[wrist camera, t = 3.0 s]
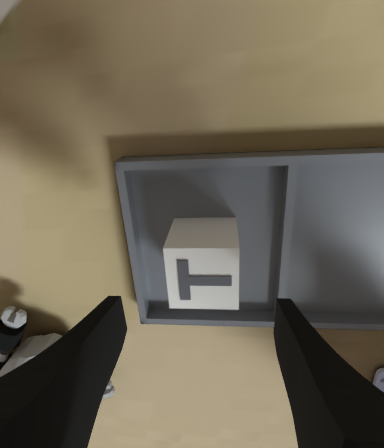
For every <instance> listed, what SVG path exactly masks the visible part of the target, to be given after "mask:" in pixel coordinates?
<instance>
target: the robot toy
mask: <svg viewBox="0 0 384 448" xmlns="http://www.w3.org/2000/svg"><path fill="white" fill-rule="evenodd" d="M15 308H16V307H14V306H9V307H6V308H5V309H4V311H3V312H2V315H1V319H2V320H0V377H1V376H3V375H5V374H6V373H8V372H10V371H12V370H13V369H15V368H17V367H18V366H20V365H22V364H23V363H25V362H27V361H28V360H30V359H31V358H33V357H35V356H36V355H38V354H39V353H41V352H42V351H43V350H45V349H46V348H48V347H49V346H50V345H52V344H53V343H55V342H56V341H57V340H58V339H60V338H61V337H62V335H59V334H56V333H52V334H48V335H44V336H43V335H40V336H32V337H29V338H27V339H26V340H25V341H24V342H23V343H22V344H21V345H20V346H19V344H20V342H21V339H22V337H23V334H24V330H25V327H26V324H27V322H26V318H27V315H26V311H24V310H22V309H19V311H17V312H16V313H14V312H15ZM17 346H19V347H18V348H17V350H16V351H15V352H14V353H13V355H11V354H10V352H11V351H12V350H14V349H15V348H16V347H17ZM114 391H115V388H114V386H112V382H111V381H110V380H109V383H108V385H107V387H106V390H105V392H104V395H103V397H102V398H103V399H106V398H108V397H111V396H112V395H113V393H114Z"/></svg>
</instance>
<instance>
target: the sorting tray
mask: <svg viewBox="0 0 384 448" xmlns="http://www.w3.org/2000/svg"><path fill="white" fill-rule="evenodd" d="M114 166H115V172H116V178H117V184H118V190H119V196H120V202H121V208H122V214H123V220H124V226H125V232H126V238H127V244H128V250H129V256H130V262H131V268H132V274H133V280H134V286H135V292H136V299H137V305H138V311H139V317H140V323H141V324H166V325H204V326H242V327H274V322H275V309H276V298H290V299H291V300H292V301H293V302H294V303H295V305H296V306H297V307H298V309H299V310H300V311H301V313H302V314H303V315H304V317H305V318H306V319H307V320H308V322H309V323H310V324H311V325H312V326H313V327H314V328H318V329H356V330H384V147H372V148H346V149H319V150H293V151H266V152H239V153H213V154H186V155H160V156H133V157H121V158H120V159H118V160H117V161H115V162H114ZM225 217H236V219H237V229H238V238H239V248H240V252H239V310H229V309H179V308H169V299H168V290H167V281H166V272H165V263H164V254H163V247H164V244H165V241H166V239H167V236H168V233H169V231H170V228H171V225H172V223H173V220H174V218H225Z"/></svg>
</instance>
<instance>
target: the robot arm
mask: <svg viewBox="0 0 384 448" xmlns="http://www.w3.org/2000/svg"><path fill="white" fill-rule="evenodd" d="M126 332H127V325H126V320H125V315H124V310H123V305H122V300H121V296H108V297H107V298H106V299H104V300H103V301H102V302H101V303H100V304H99V305H98V306H97V307H96V308H95V309H94V310H92V311H91V312H90V313H89V314H88V315H87V316H86V317H85V318H84V319H82V320H81V321H80V322H79V323H78V324H77V325H76V326H74V327H73V328H72V329H71V330H69V331H68V332H67V333H66V334H65V335H63V336H62V337H61V338H60V339H58V340H57V341H56V342H55V343H53V344H52V345H50V346H49V347H48V348H46V349H45V350H43V351H42V352H41V353H39V354H38V355H36V356H35V357H33V358H31V359H30V360H28V361H27V362H25V363H23V364H22V365H20V366H18V367H17V368H15V369H13V370H12V371H10V372H8V373H6V374H5V375H3V376H1V377H0V448H87V447H88V443H89V439H90V436H91V432H92V429H93V425H94V422H95V419H96V416H97V412H98V409H99V406H100V403H101V400H102V397H103V395H104V392H105V390H106V387H107V385H108V383H109V380H110V378H111V375H112V373H113V370H114V368H115V365H116V363H117V360H118V358H119V355H120V353H121V350H122V347H123V343H124V340H125V336H126ZM274 339H275V346H276V352H277V357H278V361H279V365H280V368H281V372H282V376H283V380H284V383H285V387H286V391H287V394H288V398H289V402H290V405H291V410H292V414H293V419H294V425H295V430H296V436H297V442H298V448H384V368H379V369H378V370H377V371H376V374H375V377H374V381H373V384H372V383H371V382H370V381H368V380H367V379H366V378H364V377H363V376H362V375H361V374H360V373H358V372H357V371H356V370H355V369H354V368H352V367H351V366H350V365H349V364H348V363H347V362H346V361H345V360H344V359H343V358H342V357H341V356H340V355H339V354H337V353H336V352H335V351H334V349H333V348H332V347H331V346H330V345H329V344H328V343H327V342H326V341H325V340H324V339H323V338H322V337H321V336H320V334H319V333H318V332H317V331H316V330H315V329H314V327H313V326H312V325H311V324H310V323H309V322H308V320H307V319H306V318H305V317H304V315H303V314H302V313H301V311H300V310H299V309H298V307H297V306H296V305H295V303H294V302H293V301H292V300H291V299H290V298H276V309H275V322H274Z"/></svg>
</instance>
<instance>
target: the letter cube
mask: <svg viewBox="0 0 384 448" xmlns="http://www.w3.org/2000/svg"><path fill="white" fill-rule="evenodd" d="M239 252H240V248H239V238H238V229H237V219H236V217H225V218H174V220H173V223H172V225H171V228H170V231H169V233H168V236H167V239H166V241H165V244H164V247H163V254H164V263H165V272H166V281H167V290H168V299H169V308H179V309H229V310H239Z"/></svg>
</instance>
